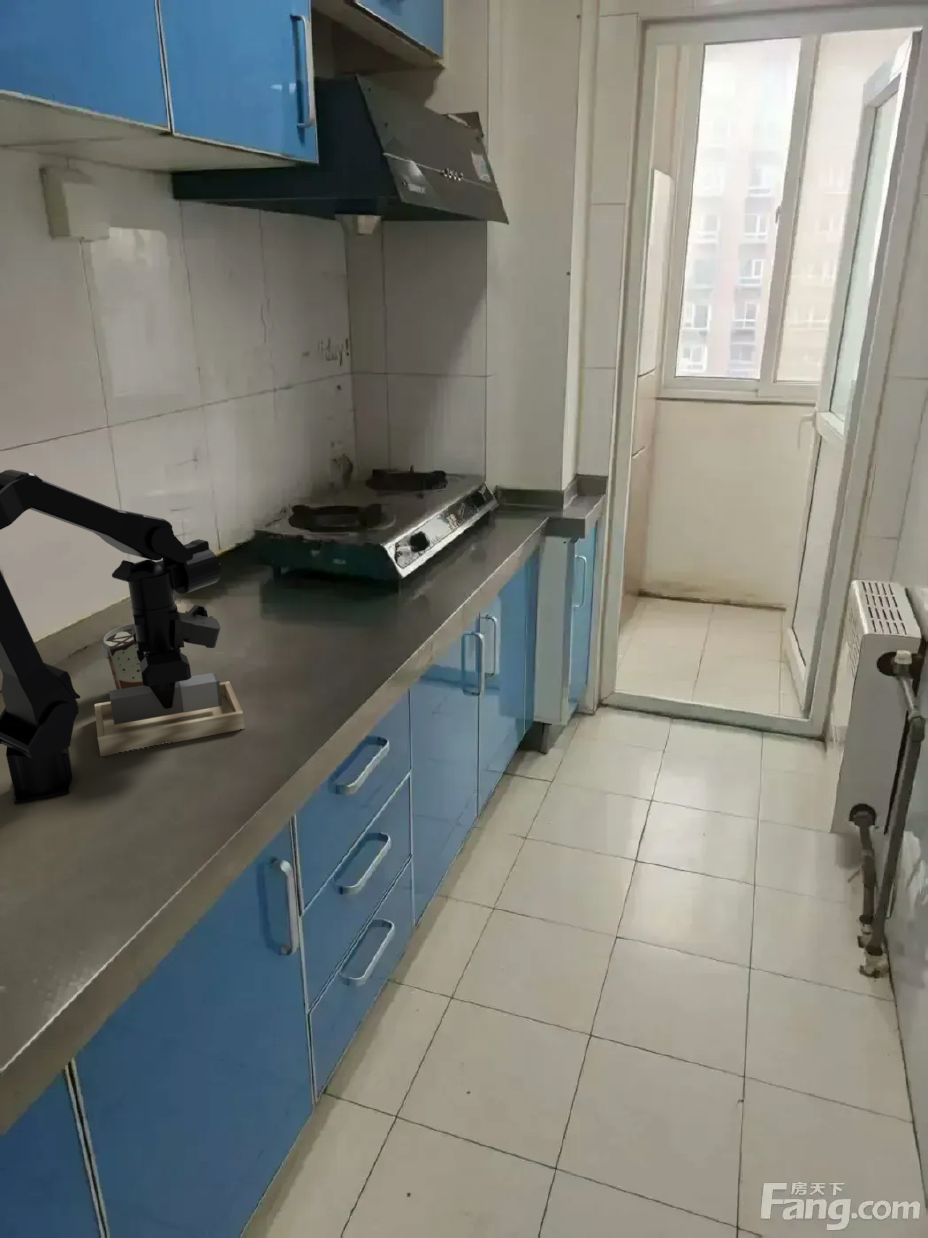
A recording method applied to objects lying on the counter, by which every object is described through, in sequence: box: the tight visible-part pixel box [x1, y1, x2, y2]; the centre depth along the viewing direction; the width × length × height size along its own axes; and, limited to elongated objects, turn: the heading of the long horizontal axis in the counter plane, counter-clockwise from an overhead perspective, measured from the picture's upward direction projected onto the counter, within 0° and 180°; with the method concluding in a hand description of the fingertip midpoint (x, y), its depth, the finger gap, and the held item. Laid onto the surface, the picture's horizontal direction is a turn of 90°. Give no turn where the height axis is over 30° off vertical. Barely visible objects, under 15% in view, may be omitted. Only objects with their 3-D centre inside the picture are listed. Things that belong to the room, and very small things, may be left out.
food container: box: [101, 622, 143, 690], centre depth 136 cm, size 12×6×10 cm, turn 141°
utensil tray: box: [94, 680, 245, 757], centre depth 126 cm, size 20×12×3 cm, turn 114°
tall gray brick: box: [108, 672, 222, 725], centre depth 124 cm, size 15×3×4 cm, turn 114°
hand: (167, 703), depth 125 cm, fingers closed on tall gray brick, 3 cm apart
